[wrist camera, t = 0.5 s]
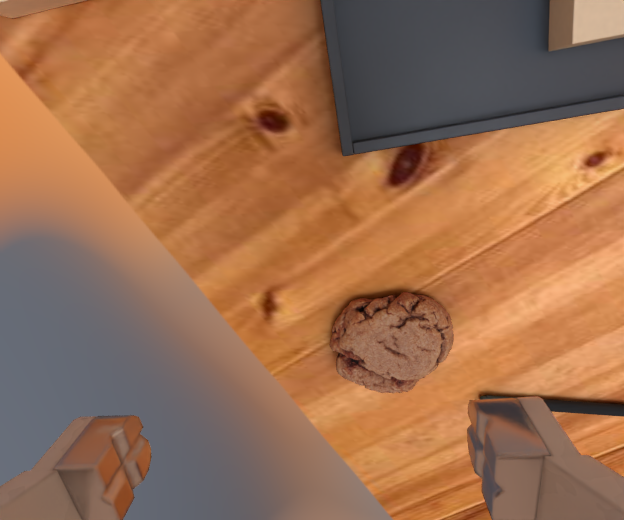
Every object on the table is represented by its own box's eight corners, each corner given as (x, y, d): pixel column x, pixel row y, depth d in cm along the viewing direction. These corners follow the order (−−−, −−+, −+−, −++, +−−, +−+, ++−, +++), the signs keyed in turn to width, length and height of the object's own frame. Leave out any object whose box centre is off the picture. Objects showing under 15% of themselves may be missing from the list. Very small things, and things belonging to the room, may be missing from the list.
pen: (667, 421, 34) (666, 407, 34) (483, 408, 35) (482, 394, 35) (657, 419, 35) (656, 405, 35) (478, 405, 36) (478, 392, 36)
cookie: (473, 338, 34) (484, 358, 32) (379, 400, 38) (382, 423, 35) (400, 259, 32) (405, 272, 30) (308, 331, 36) (305, 350, 33)
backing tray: (342, 153, 30) (342, 156, 28) (312, -61, 25) (309, -75, 23) (686, 94, 27) (714, 93, 25) (722, -162, 22) (758, -189, 20)
